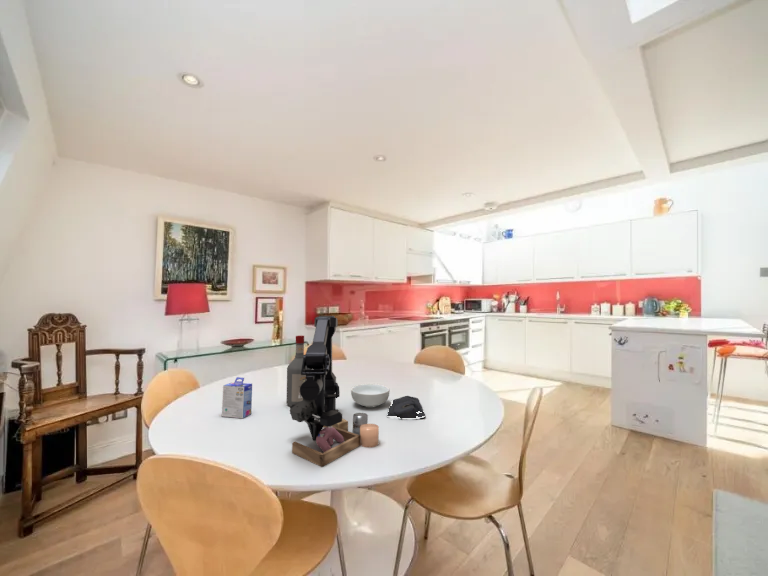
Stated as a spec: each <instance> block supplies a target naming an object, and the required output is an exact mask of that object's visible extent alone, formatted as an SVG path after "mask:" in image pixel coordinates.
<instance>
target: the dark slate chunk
mask: <svg viewBox="0 0 768 576" xmlns="http://www.w3.org/2000/svg"><path fill="white" fill-rule="evenodd" d="M392 400H393V404H392V406H390V405H389V406H390V408H389V407H388V409H389V412H388V411H387V414H388V415H387V414H386V417H387V416H397V417H400V418H416V416H418V417H422V416H425V417H426V413H425V411H424V409H423V406H422V404H421V402H420V399H419V398H418V397H415V396H410V395H406V396H401V397H399V398H395V399H392ZM421 408H422V409H421ZM418 411H420V412H422V413H419V414H417V413H416V412H418ZM423 411H424V412H423Z"/></svg>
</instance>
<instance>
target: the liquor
mask: <svg viewBox="0 0 768 576" xmlns="http://www.w3.org/2000/svg"><path fill="white" fill-rule="evenodd" d="M304 345H305V335H295V355H294V358H293V360H291V362H290V363H288V365H287V368H286V369H287V370H286V405H287V407H290V408H291V406H292V405H293V404H296V403H299V402H301V401H302V400H303V397H302V396H301V394H300V387H301V385H302V383H303V382H304V381H305V380H306V375H301V370H302V364H303V357H304V355H305V349H304V348H305V346H304ZM305 369H307V366H306V368H305Z"/></svg>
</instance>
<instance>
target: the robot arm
mask: <svg viewBox="0 0 768 576" xmlns="http://www.w3.org/2000/svg"><path fill="white" fill-rule="evenodd" d="M338 321H339V319H338V318H337V317H335V315H318V316H316V317H314V326H313V327H314V328H315V330H314V333H313V334H314V335H313V339H312V343H311V344H310V345H309V346H308V347H307V349H306V352H305V353H304V357H303V364H302V370H301V375H306V380H305V381H304V382H303V383H302V385H301V387H300V394H301V396H302V397H303V400H302V401H301V402H299V403H296V404H293V405H292V406H291V407H290V408H289V414H290V416H291V420H293V421H296V422H298V423H303V422H305V423H306V424H307V427H308V429H309V433H310V436H311V439H312V441H313V442H316V438H317V436H318V435H319V433H320V431H321V430H322V429H324V427H323V426H327V427H330V426H332V425H335V424H337V423H339V422H342V418H343V413H341V412H340V411H339V409H337V407H336V405H337V404H336V402H337V401H336V399H338V398H340V393H341V392H340V386H339V383H338V382H337V377H336V375H335V374H334V371H333V336H334V335H335V332H336V330H337V328H338ZM306 366H307V369H305V368H306Z"/></svg>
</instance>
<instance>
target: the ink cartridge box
mask: <svg viewBox="0 0 768 576" xmlns="http://www.w3.org/2000/svg"><path fill="white" fill-rule="evenodd" d="M244 380H245V377H241V376H240V377H239V376H236V378H235V380H234V382H230V383H226V384H224V385H223V386H222V402H221V404H222V405H221V417H223V418H224V417H225V418H235V419H236V418H237V419H244V418H246V417H248V416H251V415H252V409H253V408H252V407H253V406H252V400H253V399H252V397H253V383H251V382H250V383H249V382H248V383H247V382H244Z"/></svg>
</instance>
